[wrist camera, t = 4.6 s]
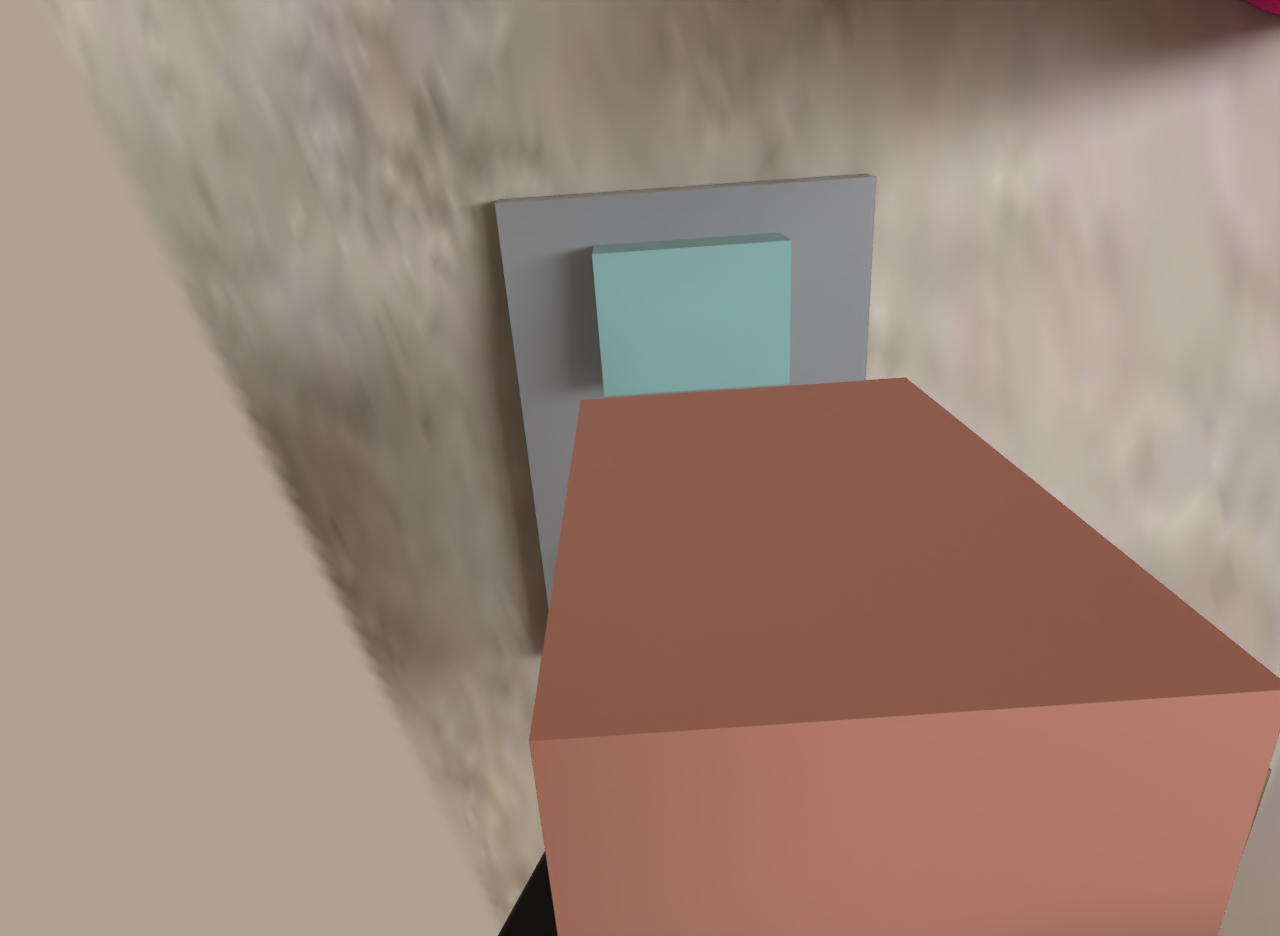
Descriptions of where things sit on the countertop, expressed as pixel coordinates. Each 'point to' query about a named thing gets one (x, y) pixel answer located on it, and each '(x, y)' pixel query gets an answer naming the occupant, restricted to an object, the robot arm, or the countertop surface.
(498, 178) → the countertop surface
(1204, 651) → the bar
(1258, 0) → the pepper mill
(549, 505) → the build plate
